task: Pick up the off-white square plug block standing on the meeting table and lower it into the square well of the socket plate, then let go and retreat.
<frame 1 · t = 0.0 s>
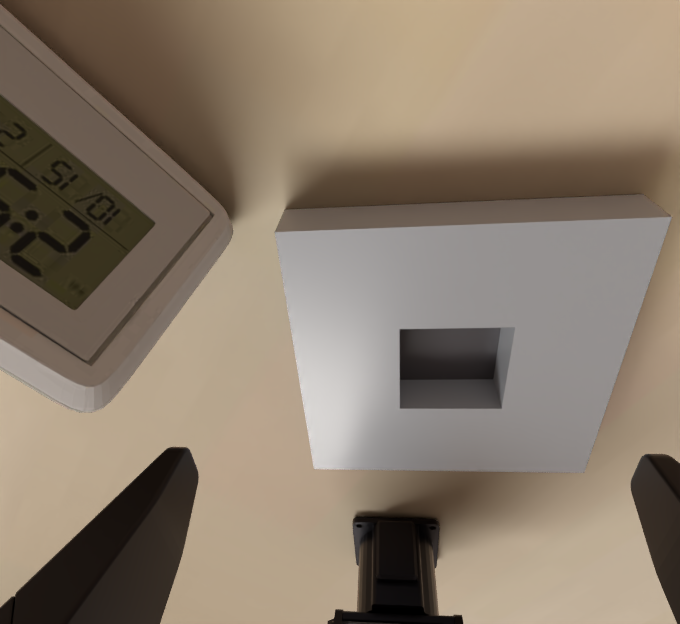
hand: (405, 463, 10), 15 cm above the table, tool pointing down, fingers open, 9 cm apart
socket plate: (447, 340, 26), on the table
digital clock: (77, 131, 21), on the table
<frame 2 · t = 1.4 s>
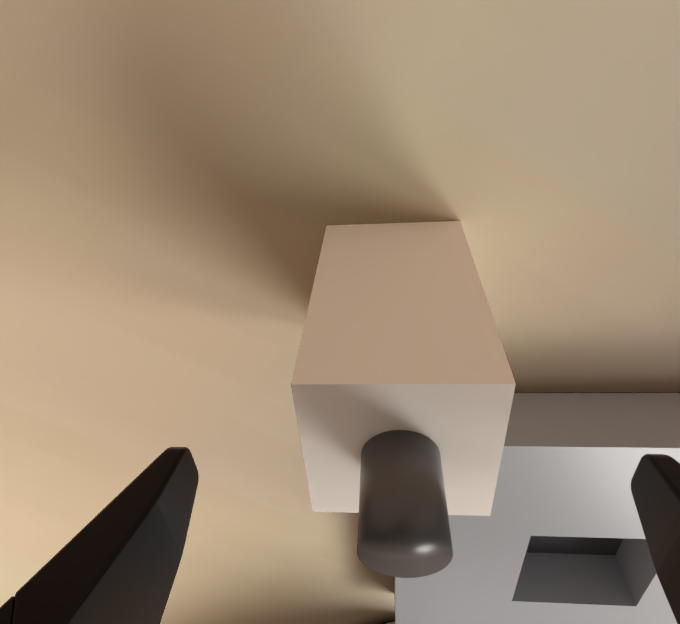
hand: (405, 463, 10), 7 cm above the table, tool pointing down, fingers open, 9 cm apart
socket plate: (567, 518, 22), on the table
plug: (392, 280, 15), on the table
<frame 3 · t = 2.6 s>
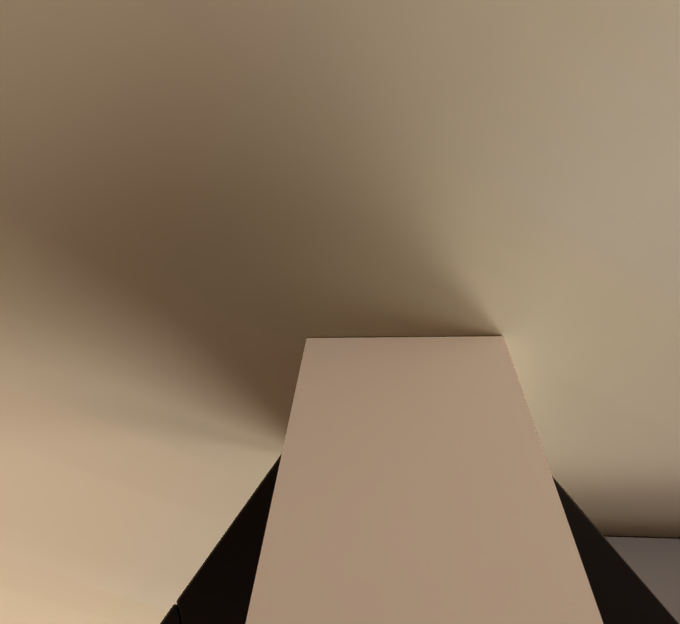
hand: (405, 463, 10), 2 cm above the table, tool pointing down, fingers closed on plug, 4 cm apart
plug: (402, 406, 11), on the table, touching gripper
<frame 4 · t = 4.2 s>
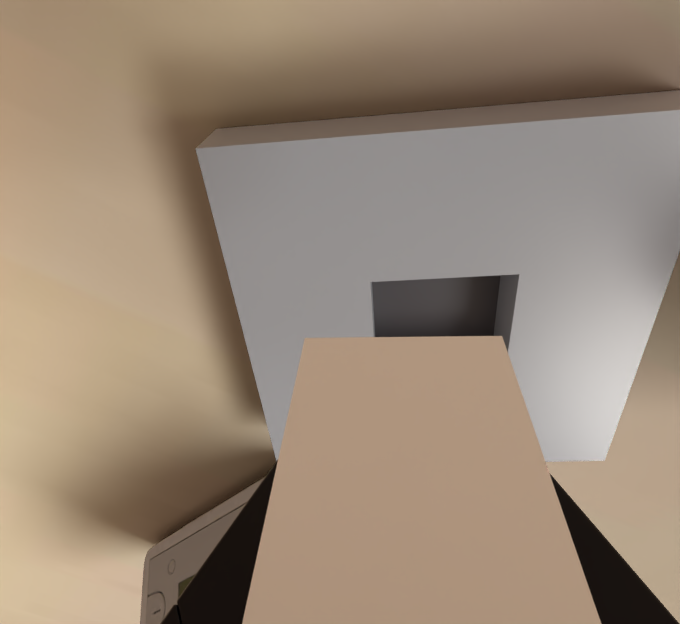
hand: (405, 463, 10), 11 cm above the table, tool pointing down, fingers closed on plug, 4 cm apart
socket plate: (434, 301, 21), on the table
plug: (400, 406, 11), point 10 cm above the table, touching gripper
digital clock: (247, 513, 32), on the table
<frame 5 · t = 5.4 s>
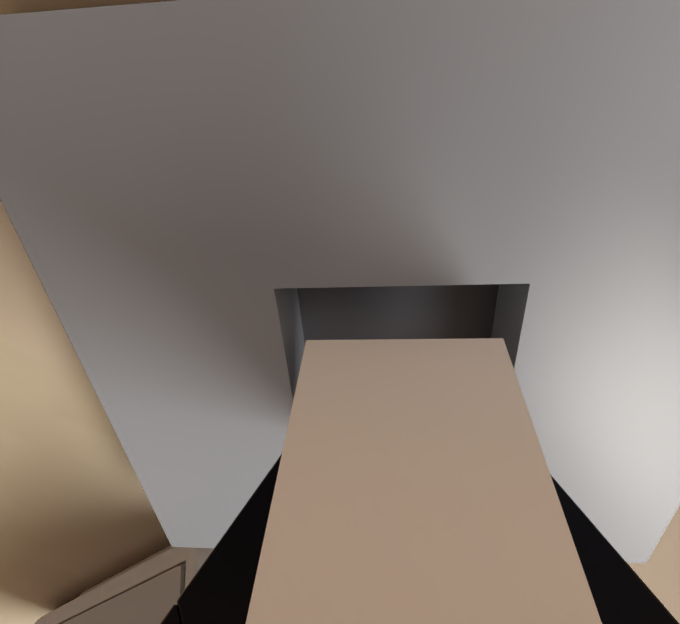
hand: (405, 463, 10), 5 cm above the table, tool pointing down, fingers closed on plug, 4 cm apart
socket plate: (395, 320, 14), on the table
plug: (402, 408, 11), point 3 cm above the table, touching gripper
digital clock: (162, 581, 24), on the table
when the fingers open (3 cm above the table, at t = 6.0 s): plug drops 1 cm, resting on socket plate.
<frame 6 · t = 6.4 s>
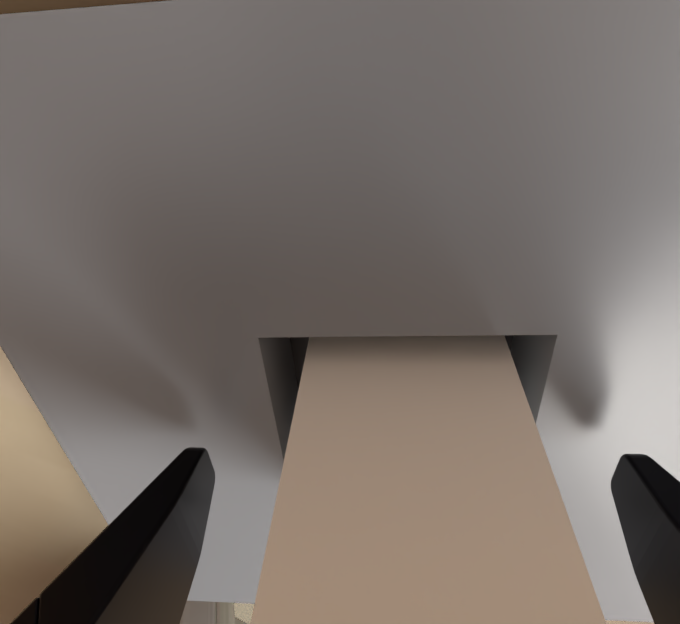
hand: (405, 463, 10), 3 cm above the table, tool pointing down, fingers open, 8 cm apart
socket plate: (398, 360, 12), on the table
plug: (401, 366, 12), resting on socket plate
digital clock: (148, 618, 23), on the table
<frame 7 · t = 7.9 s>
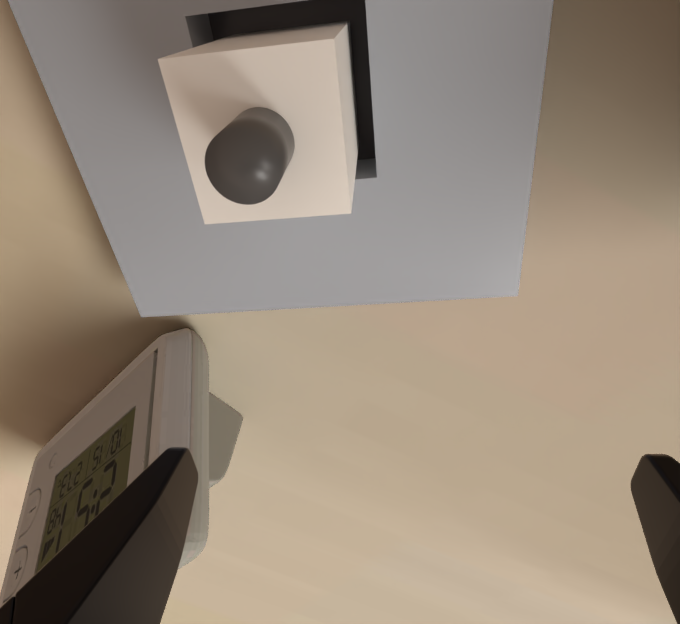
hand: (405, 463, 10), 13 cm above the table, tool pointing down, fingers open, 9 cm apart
socket plate: (298, 89, 17), on the table
plug: (300, 91, 17), resting on socket plate
digital clock: (146, 409, 28), on the table
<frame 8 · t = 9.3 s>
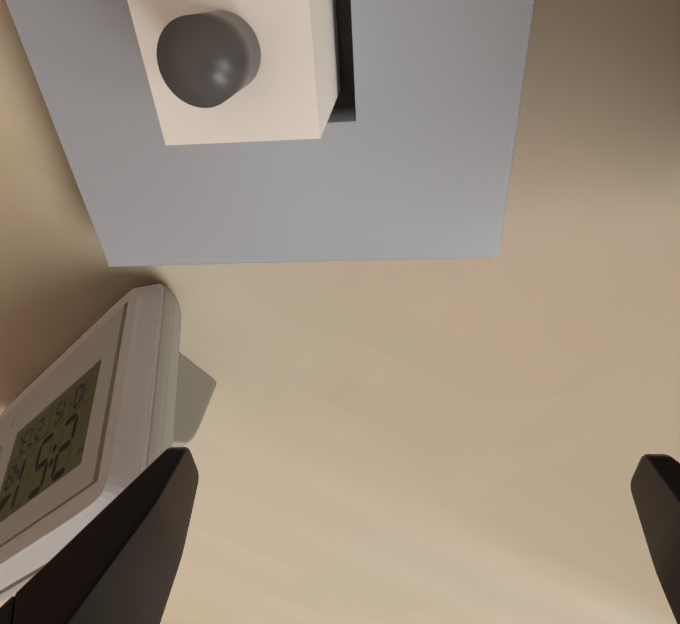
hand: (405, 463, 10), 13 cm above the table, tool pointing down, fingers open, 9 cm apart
socket plate: (279, 28, 17), on the table
plug: (280, 29, 16), resting on socket plate
digital clock: (116, 370, 27), on the table
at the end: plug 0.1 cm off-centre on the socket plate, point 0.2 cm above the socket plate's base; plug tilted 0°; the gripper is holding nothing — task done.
